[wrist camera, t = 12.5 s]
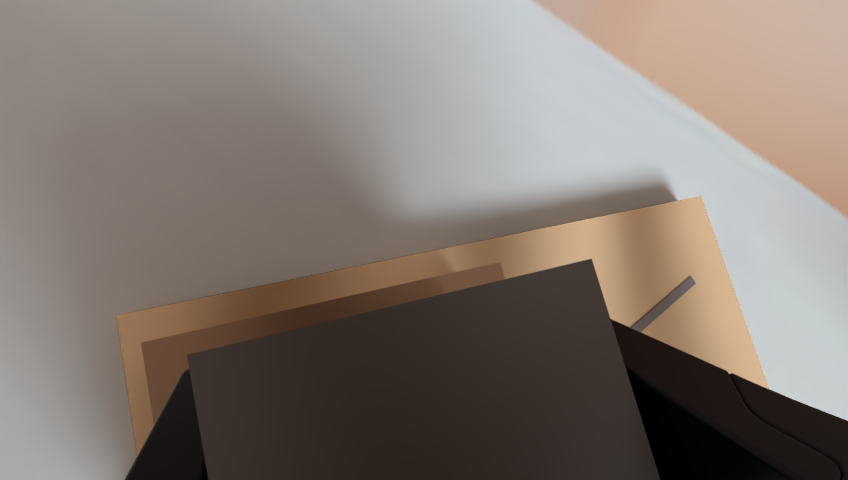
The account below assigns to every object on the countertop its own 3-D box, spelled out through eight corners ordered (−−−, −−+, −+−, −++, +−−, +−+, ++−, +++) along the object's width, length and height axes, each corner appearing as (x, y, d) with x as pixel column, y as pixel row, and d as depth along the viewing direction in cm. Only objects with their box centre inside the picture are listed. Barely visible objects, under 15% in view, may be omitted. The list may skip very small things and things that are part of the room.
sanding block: (461, 279, 15) (661, 188, 7) (511, 469, 14) (799, 593, 7) (167, 347, 13) (2, 317, 5) (207, 584, 12) (82, 1013, 4)
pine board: (680, 204, 20) (701, 195, 19) (773, 473, 18) (801, 479, 17) (126, 318, 14) (115, 315, 13) (191, 742, 12) (184, 776, 11)
